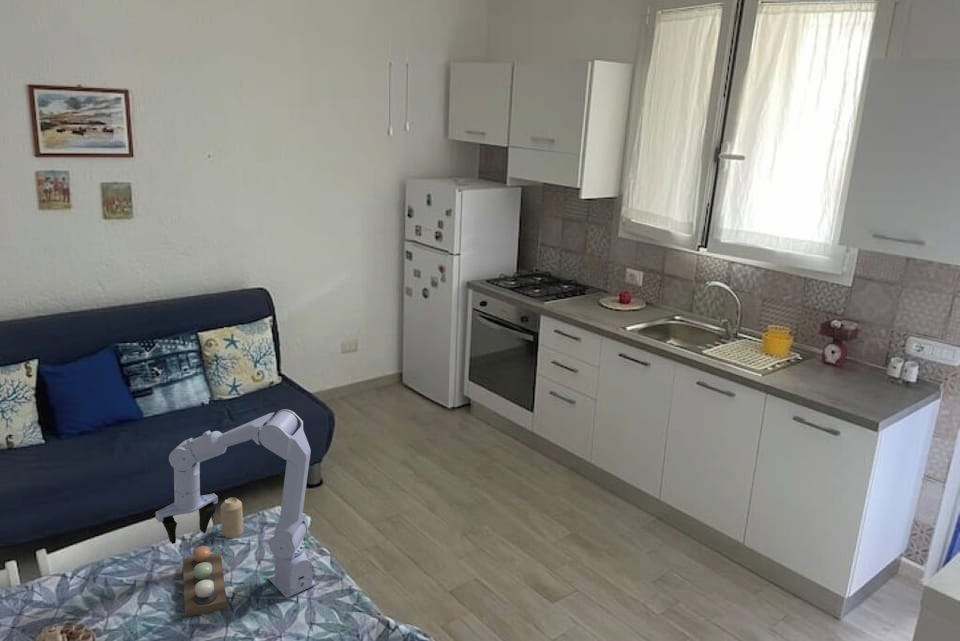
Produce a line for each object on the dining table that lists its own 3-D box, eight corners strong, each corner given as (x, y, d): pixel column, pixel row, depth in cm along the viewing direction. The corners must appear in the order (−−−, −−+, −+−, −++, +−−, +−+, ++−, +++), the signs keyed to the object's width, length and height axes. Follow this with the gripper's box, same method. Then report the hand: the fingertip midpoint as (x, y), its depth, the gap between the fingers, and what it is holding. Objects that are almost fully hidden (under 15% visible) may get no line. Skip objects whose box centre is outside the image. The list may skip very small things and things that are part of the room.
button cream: (214, 595, 165) (214, 588, 165) (196, 599, 164) (195, 592, 163) (213, 584, 169) (213, 578, 168) (195, 588, 167) (194, 581, 167)
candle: (239, 538, 193) (237, 506, 190) (219, 537, 193) (217, 505, 190) (246, 527, 198) (244, 495, 195) (226, 526, 198) (224, 494, 195)
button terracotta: (211, 560, 178) (210, 553, 177) (193, 563, 176) (193, 556, 176) (210, 550, 181) (209, 544, 181) (193, 553, 180) (192, 547, 179)
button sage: (212, 576, 172) (212, 570, 171) (194, 580, 170) (194, 574, 169) (211, 567, 175) (211, 560, 175) (194, 570, 174) (193, 564, 173)
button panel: (227, 608, 167) (226, 600, 166) (185, 617, 163) (184, 609, 162) (221, 558, 184) (220, 551, 183) (183, 565, 181) (182, 557, 180)
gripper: (208, 472, 181) (209, 519, 185) (149, 489, 171) (151, 538, 175) (221, 484, 176) (221, 532, 180) (161, 503, 166) (163, 553, 170)
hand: (187, 536), depth 177 cm, fingers open, 7 cm apart
